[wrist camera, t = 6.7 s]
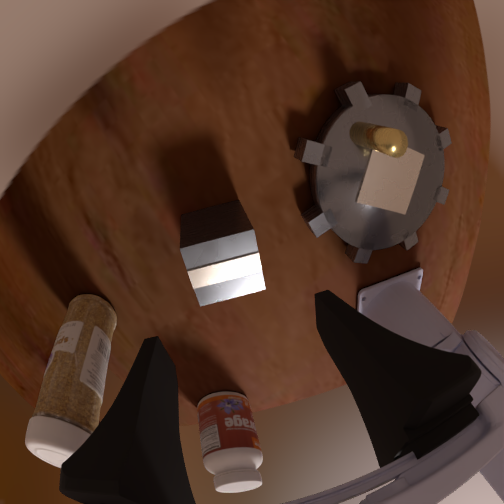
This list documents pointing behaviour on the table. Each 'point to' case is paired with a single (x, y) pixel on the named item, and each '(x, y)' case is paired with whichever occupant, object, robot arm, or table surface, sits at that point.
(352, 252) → the sprocket
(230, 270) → the grooved silver cube
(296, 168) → the table surface
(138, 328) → the table surface
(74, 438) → the sprinkles bottle
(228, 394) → the pill bottle
